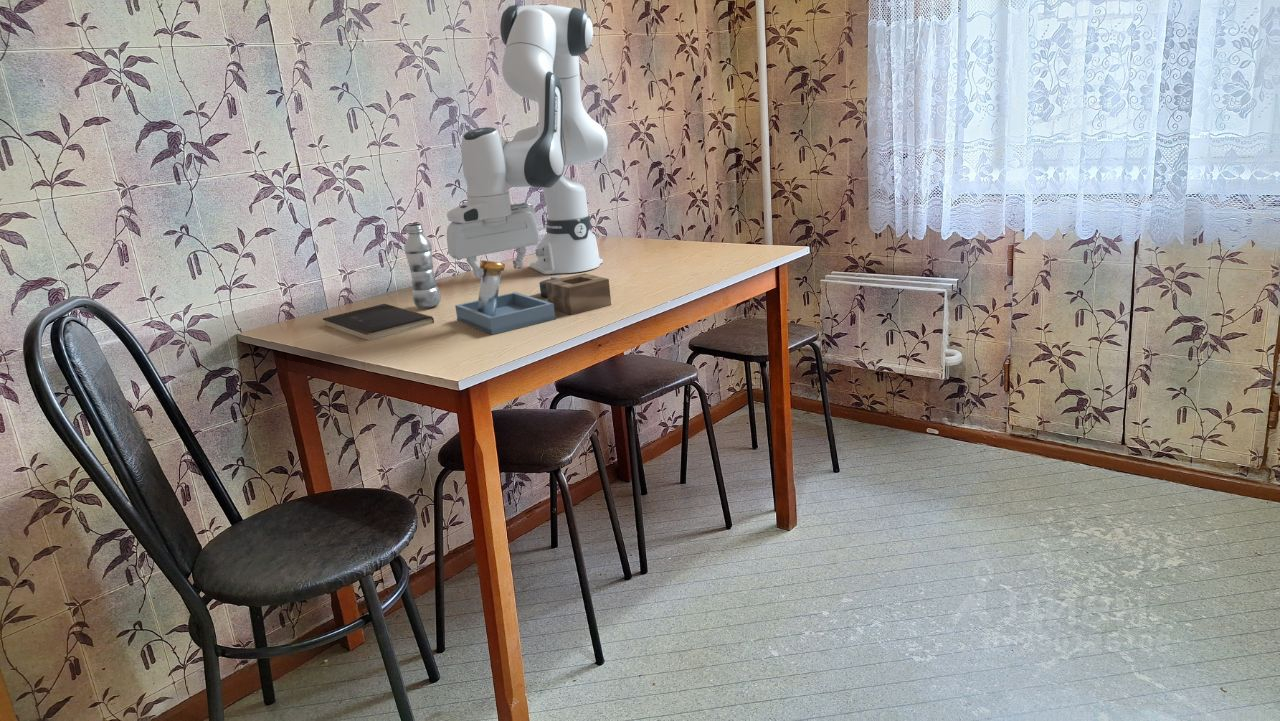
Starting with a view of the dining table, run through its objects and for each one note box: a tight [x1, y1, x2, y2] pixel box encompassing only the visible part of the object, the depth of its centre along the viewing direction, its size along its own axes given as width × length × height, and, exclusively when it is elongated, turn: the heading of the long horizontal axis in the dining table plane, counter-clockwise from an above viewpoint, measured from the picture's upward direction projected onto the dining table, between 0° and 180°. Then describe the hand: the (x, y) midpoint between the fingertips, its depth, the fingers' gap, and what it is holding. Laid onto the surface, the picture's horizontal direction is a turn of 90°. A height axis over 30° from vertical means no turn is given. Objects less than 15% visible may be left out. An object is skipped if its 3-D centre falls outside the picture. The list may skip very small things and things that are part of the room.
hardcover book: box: [322, 303, 435, 341], centre depth 189 cm, size 16×23×2 cm
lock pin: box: [477, 259, 506, 317], centre depth 179 cm, size 5×5×12 cm
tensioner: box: [529, 272, 612, 316], centre depth 192 cm, size 19×10×6 cm, turn 35°
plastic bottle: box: [403, 223, 441, 309], centre depth 198 cm, size 6×7×20 cm
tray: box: [454, 291, 556, 336], centre depth 182 cm, size 18×15×4 cm
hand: (499, 272), depth 180 cm, fingers open, 8 cm apart
